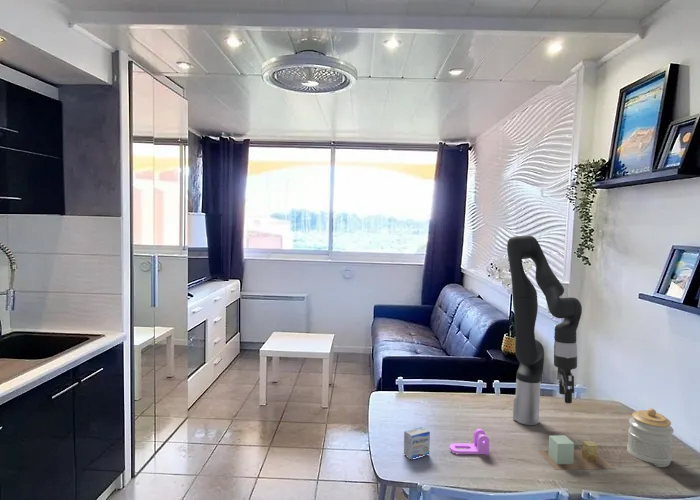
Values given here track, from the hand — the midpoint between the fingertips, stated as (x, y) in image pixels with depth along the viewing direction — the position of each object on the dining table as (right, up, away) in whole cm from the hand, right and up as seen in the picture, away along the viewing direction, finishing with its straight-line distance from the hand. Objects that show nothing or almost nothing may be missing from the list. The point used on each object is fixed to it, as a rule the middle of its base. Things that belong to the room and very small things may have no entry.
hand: (565, 398), depth 164 cm
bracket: (-35, -18, -2) cm, 40 cm away
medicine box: (-54, -18, -6) cm, 57 cm away
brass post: (+4, -18, -9) cm, 20 cm away
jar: (+27, -20, -4) cm, 33 cm away
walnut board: (-1, -19, -9) cm, 21 cm away
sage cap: (-6, -18, -10) cm, 21 cm away
